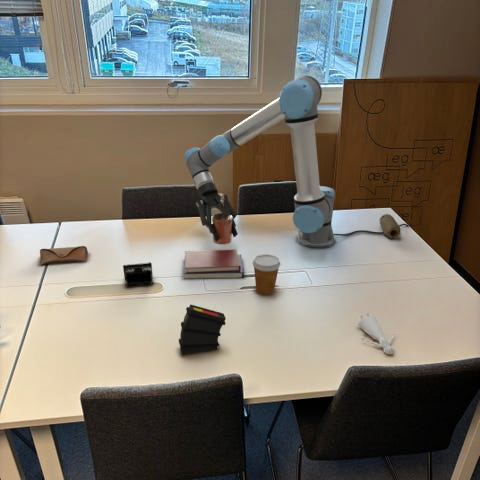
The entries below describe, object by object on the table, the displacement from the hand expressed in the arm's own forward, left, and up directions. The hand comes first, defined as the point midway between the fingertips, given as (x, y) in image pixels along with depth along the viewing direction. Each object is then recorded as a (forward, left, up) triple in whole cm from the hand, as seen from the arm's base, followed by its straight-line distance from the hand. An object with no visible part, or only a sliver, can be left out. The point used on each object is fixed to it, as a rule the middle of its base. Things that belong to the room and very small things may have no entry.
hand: (226, 237), depth 198 cm
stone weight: (-72, -19, -7) cm, 75 cm away
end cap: (+33, +22, -7) cm, 40 cm away
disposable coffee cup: (-12, +30, -7) cm, 33 cm away
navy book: (+6, +13, -7) cm, 16 cm away
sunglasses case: (+64, +3, -7) cm, 64 cm away
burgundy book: (+6, +13, -5) cm, 15 cm away
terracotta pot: (+2, -3, -3) cm, 4 cm away
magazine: (+10, +64, -7) cm, 65 cm away
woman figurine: (-43, +61, -7) cm, 75 cm away
